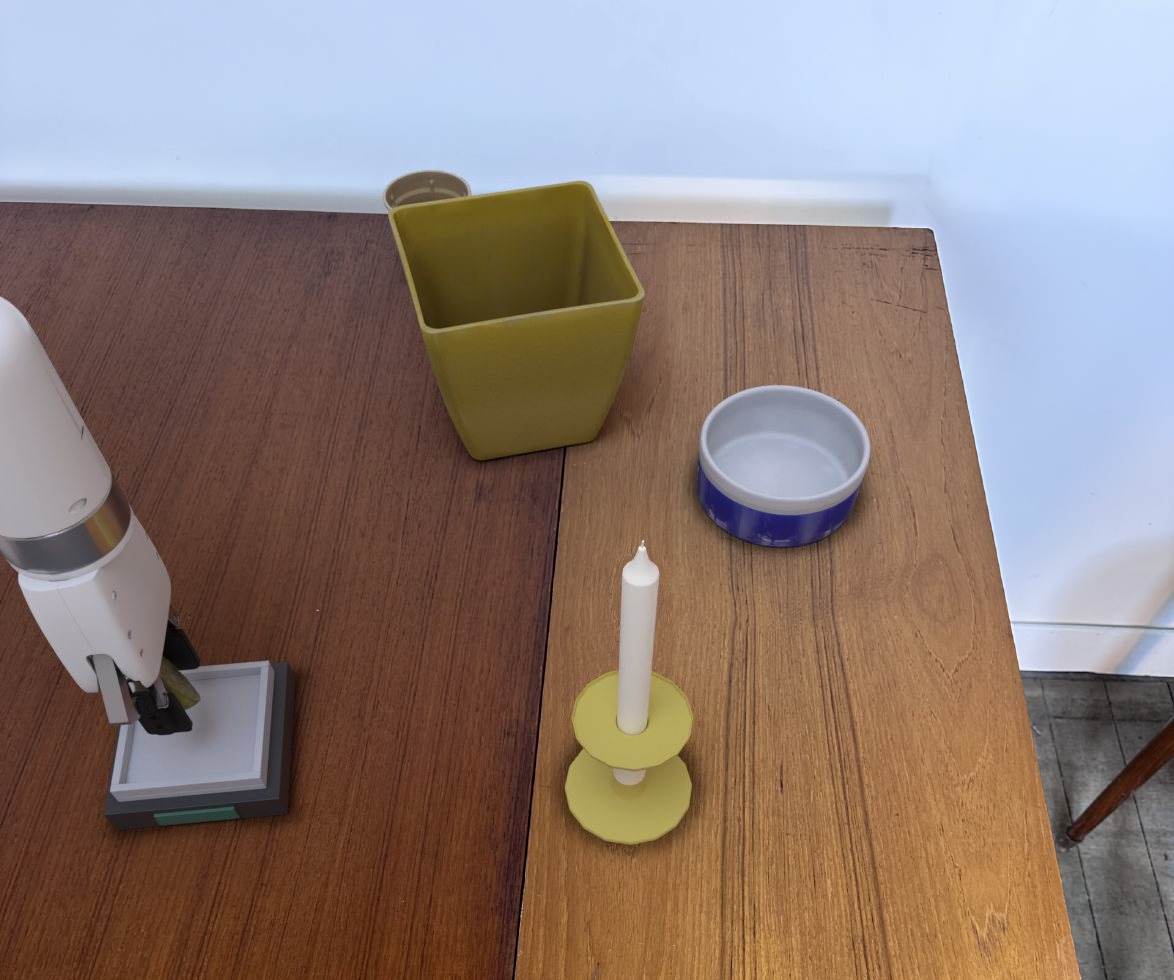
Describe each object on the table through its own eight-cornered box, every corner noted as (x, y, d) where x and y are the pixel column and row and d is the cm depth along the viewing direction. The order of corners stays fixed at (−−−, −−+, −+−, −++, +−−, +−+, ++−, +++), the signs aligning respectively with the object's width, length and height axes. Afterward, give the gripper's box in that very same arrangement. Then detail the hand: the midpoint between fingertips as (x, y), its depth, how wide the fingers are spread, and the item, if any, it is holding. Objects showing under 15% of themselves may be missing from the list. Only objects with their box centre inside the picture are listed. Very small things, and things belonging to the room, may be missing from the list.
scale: (116, 833, 74) (93, 807, 71) (139, 693, 81) (118, 663, 78) (287, 817, 75) (272, 791, 72) (295, 679, 82) (282, 649, 78)
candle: (592, 719, 79) (590, 458, 56) (708, 756, 78) (757, 502, 54) (544, 820, 75) (522, 580, 52) (667, 862, 73) (701, 633, 50)
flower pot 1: (493, 258, 112) (486, 180, 104) (454, 304, 108) (444, 226, 100) (422, 239, 114) (410, 161, 107) (381, 283, 110) (365, 205, 102)
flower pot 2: (589, 338, 104) (589, 175, 90) (640, 456, 95) (648, 295, 81) (415, 369, 102) (385, 206, 88) (449, 493, 93) (422, 334, 78)
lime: (165, 670, 73) (138, 628, 69) (221, 686, 73) (198, 644, 68) (133, 716, 71) (103, 676, 67) (191, 734, 70) (165, 694, 66)
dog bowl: (862, 553, 88) (878, 503, 83) (693, 546, 89) (699, 496, 84) (849, 439, 96) (864, 386, 91) (695, 433, 97) (700, 381, 92)
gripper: (20, 421, 60) (139, 613, 76) (-41, 635, 52) (107, 802, 67) (143, 412, 61) (236, 605, 76) (102, 623, 52) (217, 792, 68)
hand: (175, 696), depth 72 cm, fingers closed on lime, 5 cm apart
